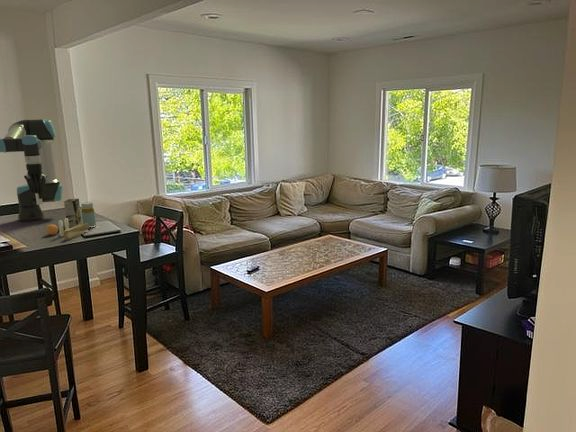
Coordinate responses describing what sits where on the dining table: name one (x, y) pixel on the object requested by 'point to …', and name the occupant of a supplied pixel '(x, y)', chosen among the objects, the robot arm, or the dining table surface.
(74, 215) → the coffee box
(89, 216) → the bottle
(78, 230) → the back rail
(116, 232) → the dining table surface
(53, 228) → the ball
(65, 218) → the pin
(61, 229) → the pin
